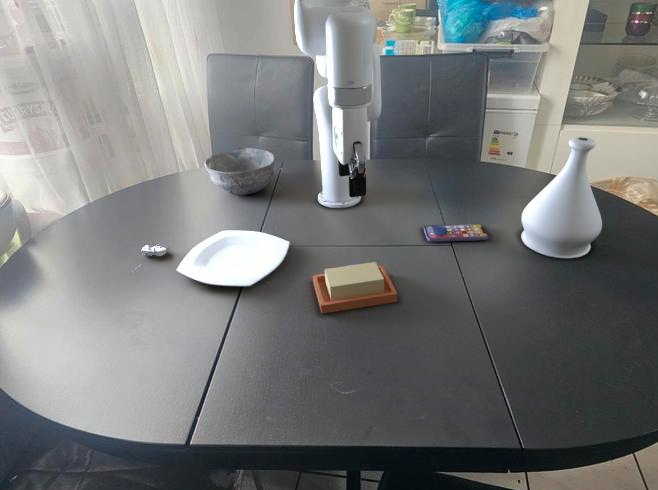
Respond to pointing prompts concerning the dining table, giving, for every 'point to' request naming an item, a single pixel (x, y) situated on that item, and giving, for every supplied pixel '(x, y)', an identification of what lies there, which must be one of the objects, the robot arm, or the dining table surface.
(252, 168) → the bowl
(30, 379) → the dining table surface
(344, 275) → the foam pad
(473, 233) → the smartphone
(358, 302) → the shallow tray
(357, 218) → the dining table surface
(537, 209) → the vase
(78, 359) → the dining table surface
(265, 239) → the plate
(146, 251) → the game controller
